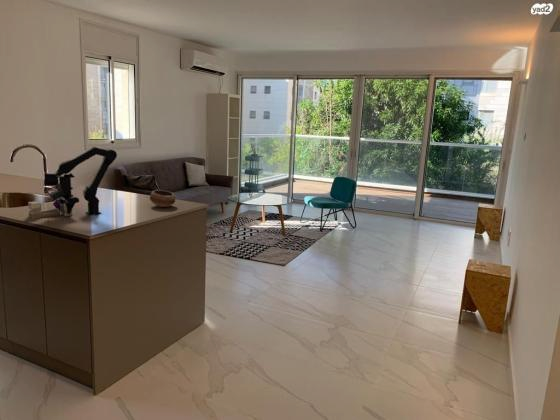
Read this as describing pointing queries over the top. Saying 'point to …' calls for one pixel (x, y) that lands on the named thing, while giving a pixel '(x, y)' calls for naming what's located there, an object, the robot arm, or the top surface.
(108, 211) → the top surface
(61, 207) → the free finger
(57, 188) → the perfume bottle
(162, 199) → the bowl
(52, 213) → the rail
